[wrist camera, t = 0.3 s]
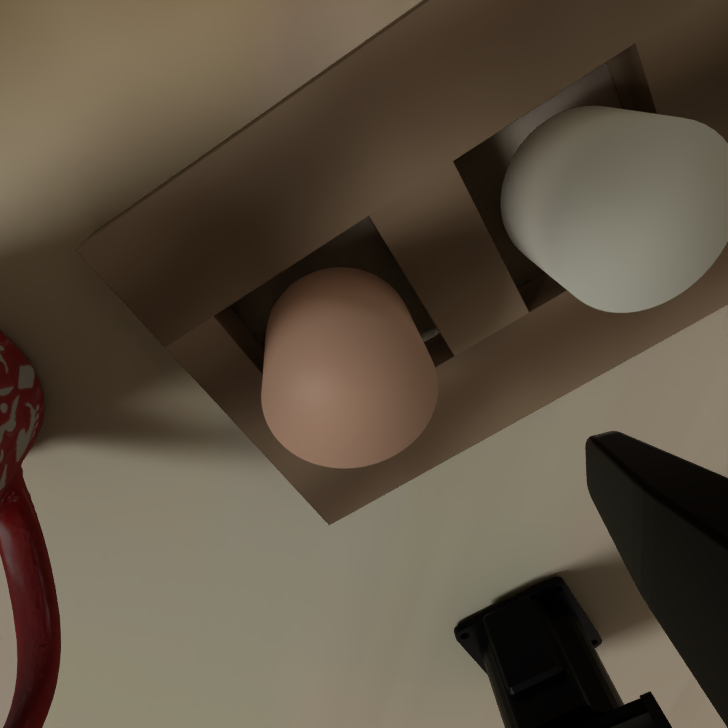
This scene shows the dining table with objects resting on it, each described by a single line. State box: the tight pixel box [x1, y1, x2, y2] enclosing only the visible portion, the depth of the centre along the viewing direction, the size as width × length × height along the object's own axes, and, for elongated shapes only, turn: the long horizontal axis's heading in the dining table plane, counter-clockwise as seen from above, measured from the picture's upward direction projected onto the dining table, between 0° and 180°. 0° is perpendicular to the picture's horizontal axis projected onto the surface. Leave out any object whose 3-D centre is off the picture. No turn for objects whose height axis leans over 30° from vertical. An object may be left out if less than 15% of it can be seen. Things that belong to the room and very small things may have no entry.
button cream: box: [501, 105, 728, 313], centre depth 16 cm, size 5×5×4 cm
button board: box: [75, 0, 728, 525], centre depth 19 cm, size 14×28×2 cm, turn 121°
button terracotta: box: [261, 267, 438, 469], centre depth 18 cm, size 5×5×4 cm
